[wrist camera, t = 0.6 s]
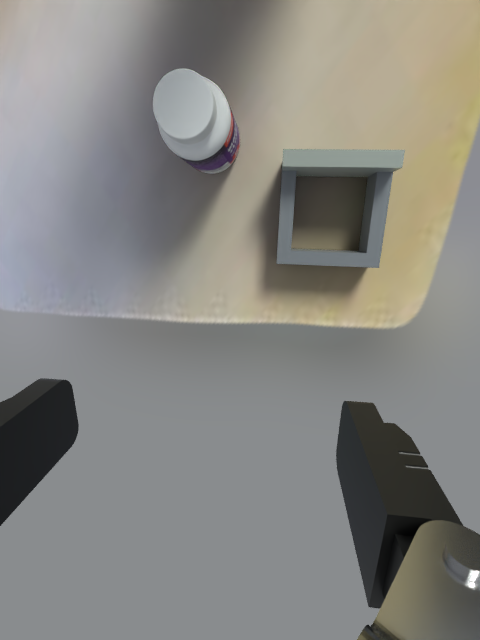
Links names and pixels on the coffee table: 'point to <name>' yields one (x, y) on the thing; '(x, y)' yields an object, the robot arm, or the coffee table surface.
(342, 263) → the dock
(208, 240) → the coffee table surface
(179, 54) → the coffee table surface
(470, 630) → the robot arm
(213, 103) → the pill bottle
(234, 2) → the coffee table surface
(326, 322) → the coffee table surface
